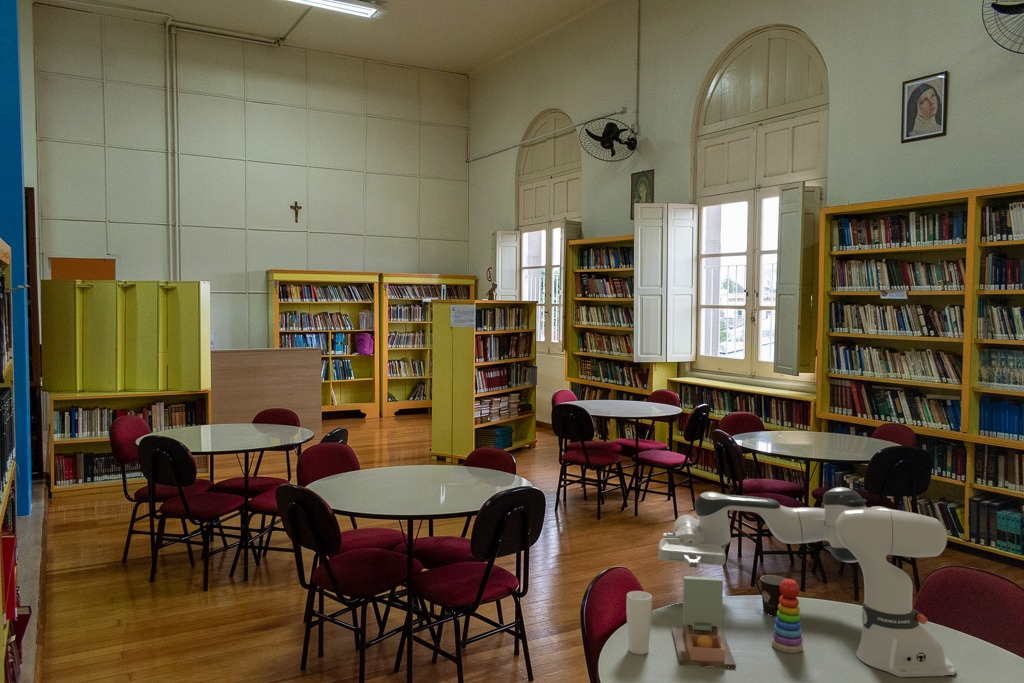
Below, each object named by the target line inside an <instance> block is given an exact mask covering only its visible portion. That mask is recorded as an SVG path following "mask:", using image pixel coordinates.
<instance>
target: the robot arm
mask: <svg viewBox="0 0 1024 683" xmlns="http://www.w3.org/2000/svg"><path fill="white" fill-rule="evenodd" d="M866 502H868V501H867V499H865V498H862V496H861V495H860V494H859V492H857V491H856V490H854V489H850V488H848V487H843V486H840V487H839V486H838V487H834V488H831V489H829V490H827V491H825V492H824V494H823V497H822V505H823V506H824V507H823V508H822V507H805V506H801V507H788V506H784V505H782V504H780V503H779V501H778V500H776V499H773V498H769V497H761V496H760V497H759V496H751V495H749V496H748V495H739V494H737V495H736V494H726V493H722V492H721V493H720V492H718V491H717V492H716V491H705V492H702V493H700V494H699V495H698V497H697V498H696V500H695V501H694V506H693V507H694V509H695V510H694V511H695V513H696V517H697V518H695V517H694V516H692V515H690V514H682V515H680V516H679V517H677V518H676V520H675V521H674V523H673V531H672V532H664V533H662V536H661V539H660V540H659V543H658V553H657V554H658V555H657V559H658V560H660V561H667V562H677V563H684V564H686V565H687V567H688V568H696V569H698V568H699V566H700V565H710V566H711V565H712V566H724V565H725V564H726V561H727V560H726V556H727V555H726V552H725V550H724V549H725V548H726V547H727V546H728V545H729V544H730V543H731V540H732V536H731V535H732V534H731V528H730V527H731V526H730V523H729V516H728V514H729V513H728V511H738V512H739V511H740V512H751V513H756V514H757V515H759V516H760V517H761V518H762V519H763V520H764V522H765V523H766V526H767V527H768V529H769V531H770V532H771V533H772V535H773V536H774V537H775V539H777V540H778V541H780V542H782V543H783V544H789V545H790V544H791V545H795V544H809V543H817V542H821V541H827V542H828V543H829V545H826V546H824V547H825V549H826V550H828V551H829V552H830V554H831V555H832V556H833V557H834V558H835V559H836V560H838V561H840V562H844V563H850V564H851V563H853V564H854V563H857V562H858V564H859V566H860V568H861V571H862V575H863V582H864V583H863V585H864V601H862V609H861V622H862V630H861V638H860V640H859V644H858V648H857V651H856V657H857V658H858V659H859V660H860V661H861V662H862V663H864V664H866V665H868V666H870V667H872V668H875V669H878V670H882V671H884V672H888V673H889V674H892V675H893V676H896V677H900V678H911V677H914V678H916V677H948V676H947V675H953V674H955V675H956V668H955V665H954V664H953V663H952V661H951V660H950V659H949V658H948V657H946V656H945V654H946V653H945V651H944V647H943V645H942V644H941V641H939V639H938V638H937V637H936V636H935V635H934V634H932V633H931V632H930V631H929V630H927V629H926V628H925V627H924V626H922V625H926V624H927V623H928V621H929V620H928V618H927V617H926V616H925V615H924V614H923V613H920V612H919V611H918V610H916V609H915V608H913V591H914V590H913V586H914V584H913V581H912V578H911V577H910V576H909V574H908V573H906V572H905V571H904V570H902V569H901V568H899V567H897V566H896V565H893V564H892V563H890V562H889V561H888V560H887V556H901V557H909V558H931V557H932V558H933V557H938V556H940V555H941V554H942V553H943V552H944V550H945V548H947V547H946V546H947V542H948V534H947V531H946V528H945V526H944V525H943V524H942V522H941V521H940V520H939V519H937V518H935V517H933V516H929V515H928V516H927V515H923V514H920V513H916V512H910V511H904V510H898V509H891V508H888V507H884V506H880V505H878V506H877V505H876V506H875V505H874V506H871V507H867V506H866ZM945 675H946V676H945Z"/></svg>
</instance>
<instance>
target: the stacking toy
mask: <svg viewBox="0 0 1024 683" xmlns="http://www.w3.org/2000/svg"><path fill="white" fill-rule="evenodd" d="M800 590H801V589H800V586H799V584H798V582H796V580H794V579H791V578H787V579H785V580H783V581H782V582H781V584H780V592H781V594H782V596H780V598H779V601H780V604H779V605H778V609H779V610H778V611H777V617H775V619H774V623H775V624H774V626H773V629H774V631H773V633H772V640H771V645H772V646H773V647H774V648H775V649H776V650H778V651H779V652H783V653H786V654H797V653H800V652H802V650H803V649H804V644H803V640H804V638H803V635H802V632H803V631H802V628H801V626H802V623H801V621H800V620H801V613H800V611H801V608H800V606H799V604H800V601H799V598H797V597H798V596H799V593H800Z"/></svg>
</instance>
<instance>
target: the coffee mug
mask: <svg viewBox="0 0 1024 683" xmlns="http://www.w3.org/2000/svg"><path fill="white" fill-rule="evenodd" d="M785 579H788V578H787V577H785V576H780V575H774V574H767V575H762V576H760V577H759V576H758V577H757V578H756V579H755V585H756V588H757V590H758V592H759V593H760V595H761V599H762V608H763V613H764V612H765V613H767V614H769V615H772V616H771V617H773V616H777V611H778V610H779V609H778V605H779V604H780V601H779V598H780V596H782V594H781V592H780V584H781V582H782V581H783V580H785ZM758 581H760V586H759V583H758ZM765 613H764V614H765ZM767 614H766V615H767ZM769 615H768V616H769Z"/></svg>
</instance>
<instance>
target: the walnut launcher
mask: <svg viewBox="0 0 1024 683" xmlns="http://www.w3.org/2000/svg"><path fill="white" fill-rule="evenodd" d="M672 633H673V634H672ZM671 634H672V637H673V642H675V643H674V647H675V651H676V655H677V656H676V657H677V661H678V664H679V666H689V665H698V666H697V667H704V666H714V667H713V668H719V667H727V668H726V669H734V668H736V669H737V664H736V661H735V659H734V657H733V653H732V651H731V648H730V647H729V644H728V641H727V638H726V635H725V633H724V630H723V629H718V627H717V626H711V631H710V630H694V627H693V625H684V624H683V627H675V626H674V627H673V626H672V627H671ZM687 634H698V635H714V636H720V638H721V640H722V643H723V646H724V649H725V664H720V663H705V662H690V659H689V655H688V651H687V647H686V644H687ZM699 665H700V666H699ZM728 667H729V668H728Z"/></svg>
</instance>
